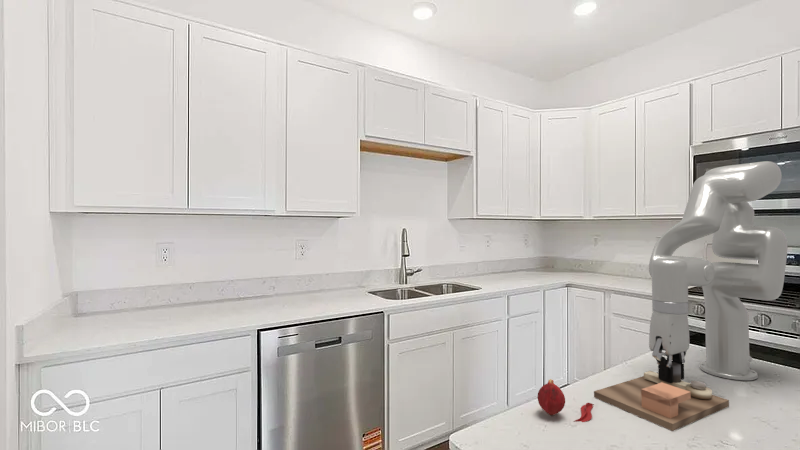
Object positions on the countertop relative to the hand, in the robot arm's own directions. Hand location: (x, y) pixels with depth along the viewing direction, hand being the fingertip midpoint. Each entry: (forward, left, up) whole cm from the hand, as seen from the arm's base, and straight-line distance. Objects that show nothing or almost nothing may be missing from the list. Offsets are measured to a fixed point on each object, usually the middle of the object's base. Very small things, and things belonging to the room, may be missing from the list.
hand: (671, 378), depth 97 cm
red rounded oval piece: (+36, -6, -4) cm, 37 cm away
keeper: (+14, +6, -2) cm, 15 cm away
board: (+8, +2, -3) cm, 9 cm away
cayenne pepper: (+28, -3, -4) cm, 29 cm away
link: (0, +1, -2) cm, 2 cm away
